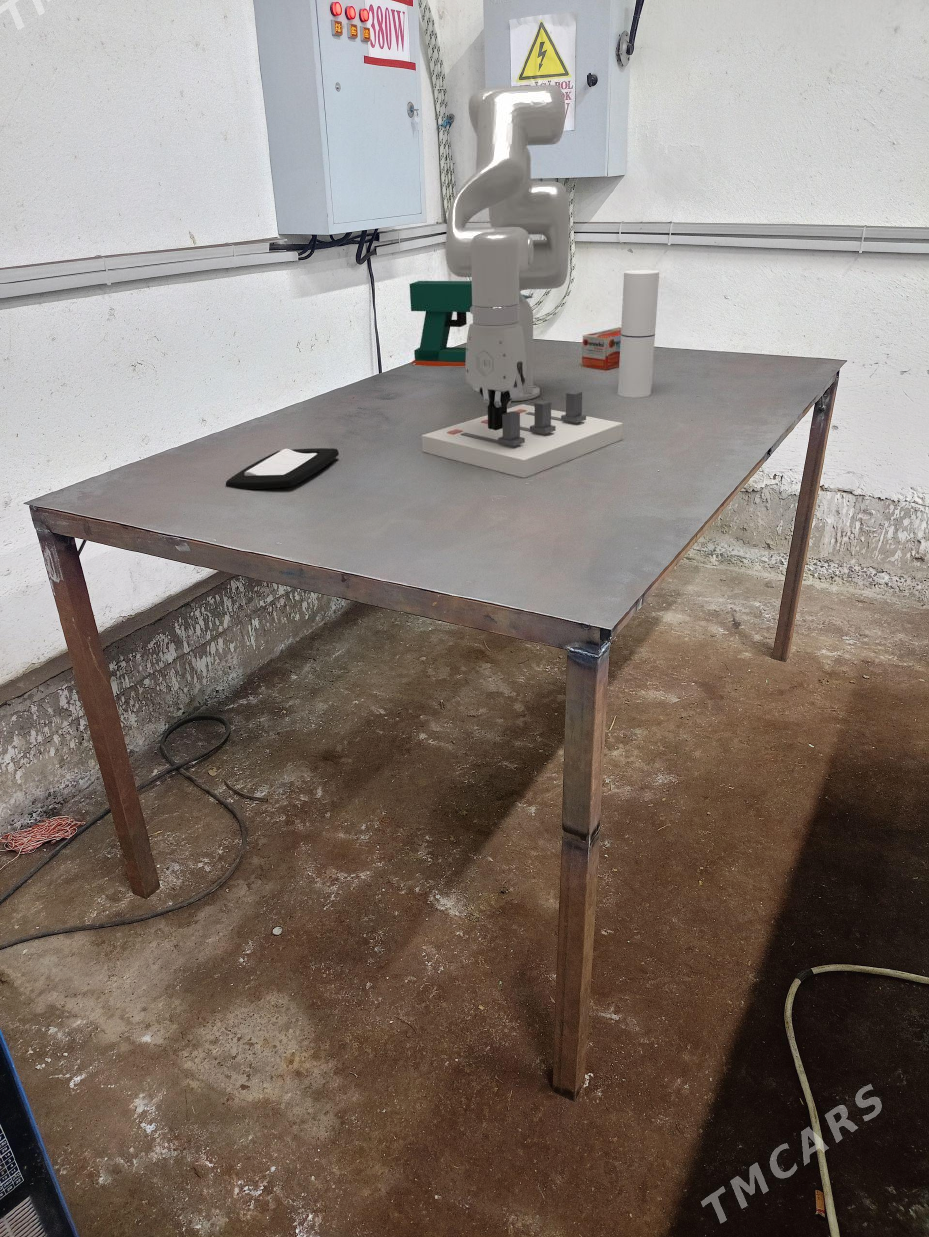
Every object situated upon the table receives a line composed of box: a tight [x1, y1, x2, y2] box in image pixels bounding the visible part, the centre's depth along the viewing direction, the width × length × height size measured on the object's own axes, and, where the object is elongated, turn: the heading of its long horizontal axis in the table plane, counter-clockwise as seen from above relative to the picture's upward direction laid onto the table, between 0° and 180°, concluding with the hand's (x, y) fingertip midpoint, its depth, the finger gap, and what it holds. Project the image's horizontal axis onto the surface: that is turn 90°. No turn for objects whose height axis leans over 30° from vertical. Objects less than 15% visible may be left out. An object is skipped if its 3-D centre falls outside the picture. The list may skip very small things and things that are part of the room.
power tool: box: [409, 280, 533, 367], centre depth 217 cm, size 32×7×20 cm, turn 71°
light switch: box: [225, 447, 340, 490], centre depth 146 cm, size 20×3×14 cm
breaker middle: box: [530, 400, 556, 434], centre depth 150 cm, size 4×3×5 cm
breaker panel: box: [421, 403, 624, 479], centre depth 155 cm, size 24×28×3 cm
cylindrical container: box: [617, 269, 660, 399], centre depth 182 cm, size 7×7×25 cm
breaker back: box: [561, 390, 587, 423], centre depth 156 cm, size 4×3×5 cm
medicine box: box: [581, 326, 621, 371], centre depth 215 cm, size 15×8×8 cm, turn 134°
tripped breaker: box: [498, 411, 525, 446], centre depth 144 cm, size 4×3×5 cm
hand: (497, 427), depth 147 cm, fingers closed
